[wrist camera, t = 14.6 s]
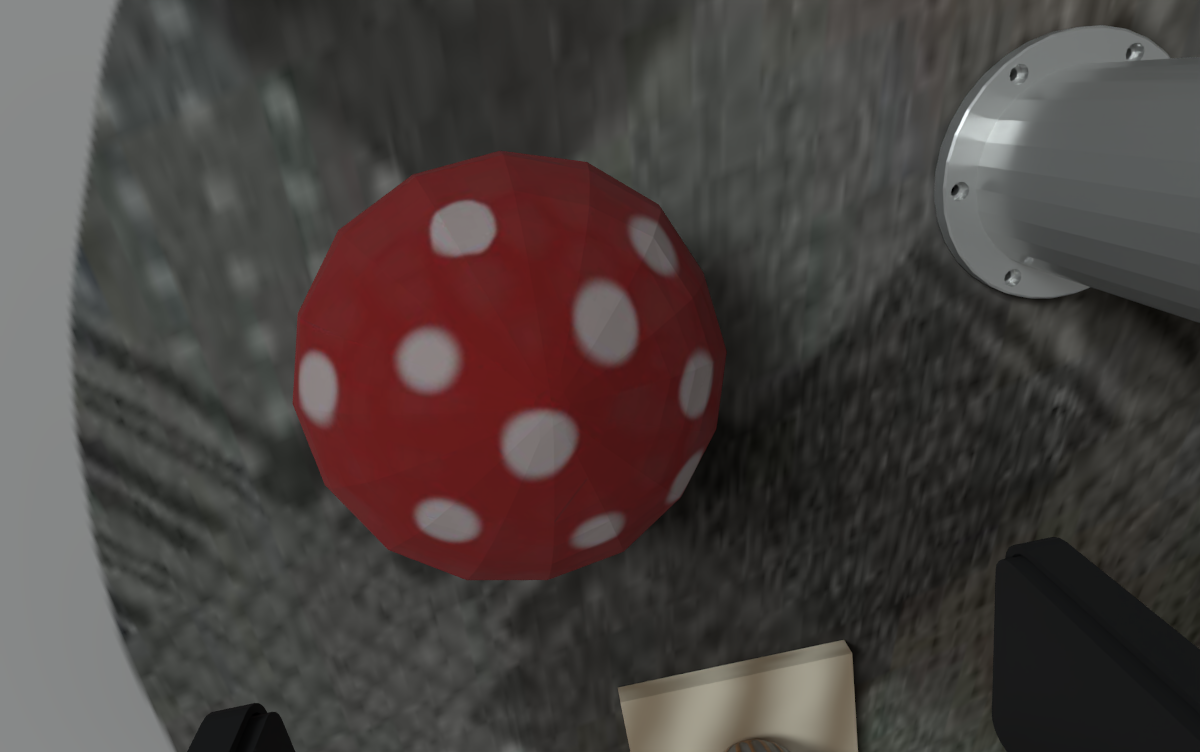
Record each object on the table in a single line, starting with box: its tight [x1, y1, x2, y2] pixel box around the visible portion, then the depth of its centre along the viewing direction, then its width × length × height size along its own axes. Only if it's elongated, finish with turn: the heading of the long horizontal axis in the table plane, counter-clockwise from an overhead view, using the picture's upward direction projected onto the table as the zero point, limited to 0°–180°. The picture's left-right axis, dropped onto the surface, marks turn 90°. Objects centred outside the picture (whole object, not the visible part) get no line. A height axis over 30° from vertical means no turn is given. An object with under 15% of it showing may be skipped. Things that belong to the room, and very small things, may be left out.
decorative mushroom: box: [293, 151, 727, 580], centre depth 30 cm, size 16×16×15 cm
